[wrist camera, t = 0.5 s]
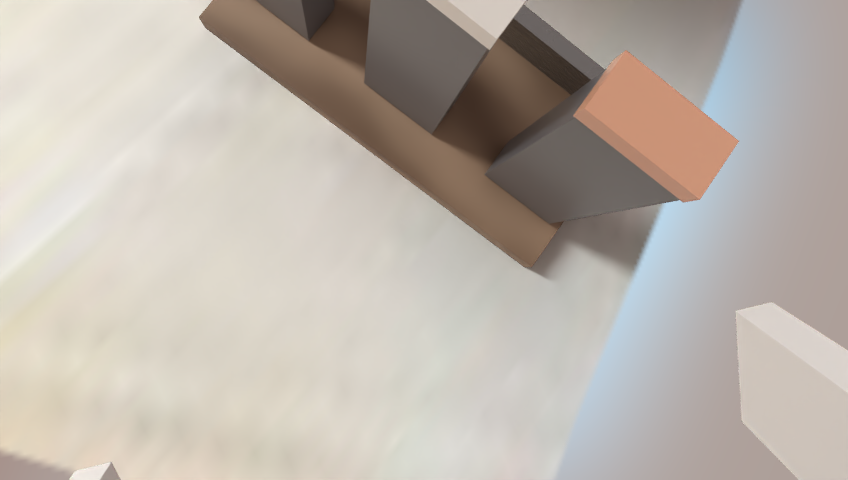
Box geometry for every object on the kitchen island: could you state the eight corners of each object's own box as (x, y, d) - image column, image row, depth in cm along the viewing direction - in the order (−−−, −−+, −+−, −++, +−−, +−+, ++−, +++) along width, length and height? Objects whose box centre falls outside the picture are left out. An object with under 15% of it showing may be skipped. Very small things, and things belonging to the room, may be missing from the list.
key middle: (432, 136, 34) (497, 39, 19) (362, 82, 33) (372, -60, 19) (457, 102, 34) (540, -20, 19) (388, 48, 34) (418, -118, 19)
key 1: (549, 225, 35) (699, 199, 20) (482, 174, 34) (584, 108, 19) (573, 191, 35) (739, 141, 20) (507, 140, 35) (626, 50, 20)
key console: (524, 267, 36) (548, 267, 32) (205, 27, 34) (183, -7, 30) (620, 129, 37) (657, 111, 33) (318, -110, 35) (313, -164, 31)
